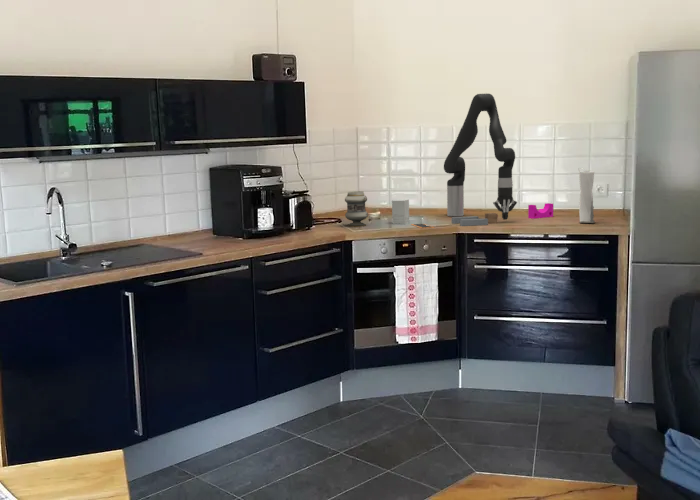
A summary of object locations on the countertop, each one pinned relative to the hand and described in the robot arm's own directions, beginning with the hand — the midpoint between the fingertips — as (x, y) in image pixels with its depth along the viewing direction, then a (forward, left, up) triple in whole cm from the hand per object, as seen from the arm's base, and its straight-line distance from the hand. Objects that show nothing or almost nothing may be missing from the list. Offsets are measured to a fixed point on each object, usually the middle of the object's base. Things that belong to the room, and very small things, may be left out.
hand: (505, 219), depth 421 cm
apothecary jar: (-16, -76, -2) cm, 78 cm away
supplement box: (-18, -52, -2) cm, 55 cm away
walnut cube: (0, -8, -2) cm, 8 cm away
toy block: (-16, +27, -2) cm, 31 cm away
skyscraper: (+16, +38, -2) cm, 41 cm away
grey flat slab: (0, -20, -2) cm, 20 cm away
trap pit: (0, -45, -2) cm, 45 cm away
